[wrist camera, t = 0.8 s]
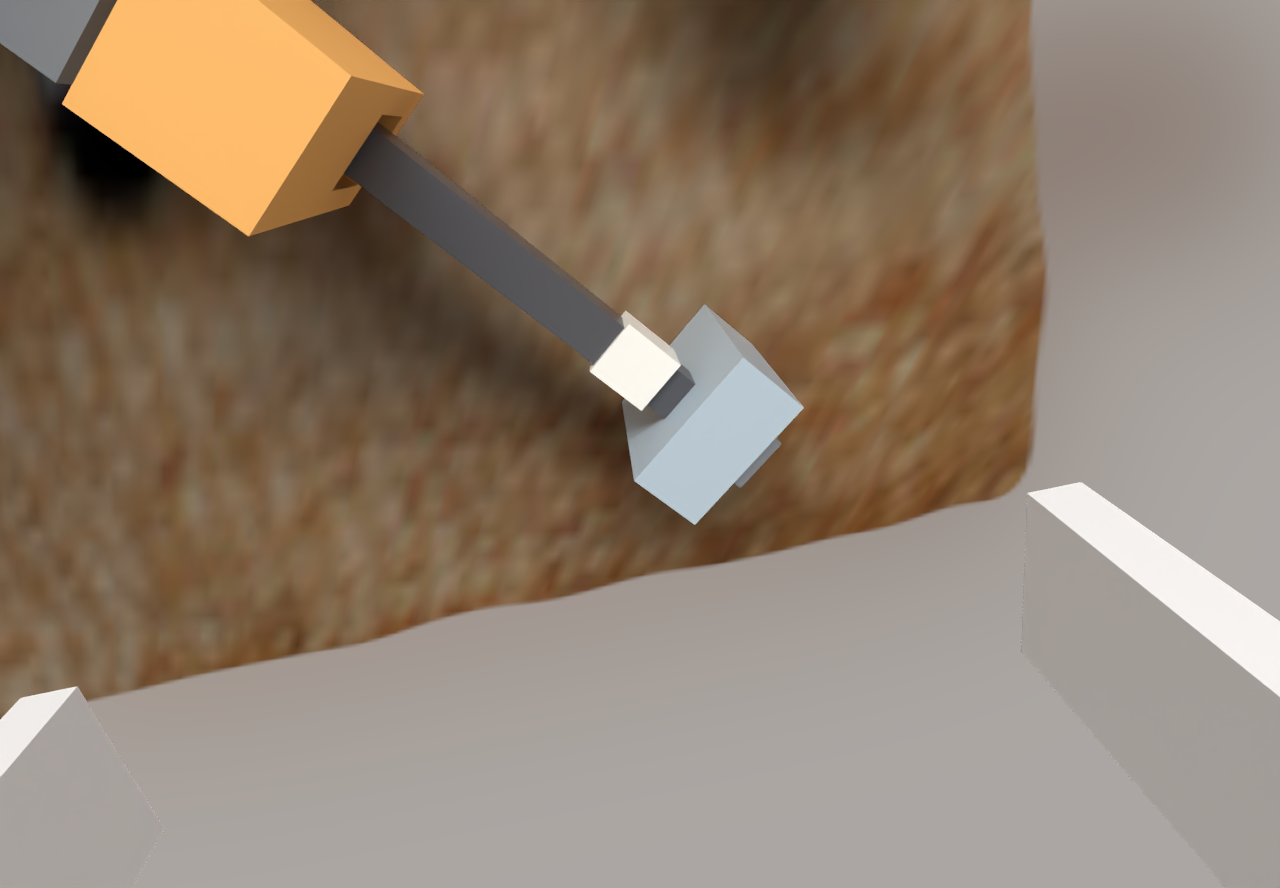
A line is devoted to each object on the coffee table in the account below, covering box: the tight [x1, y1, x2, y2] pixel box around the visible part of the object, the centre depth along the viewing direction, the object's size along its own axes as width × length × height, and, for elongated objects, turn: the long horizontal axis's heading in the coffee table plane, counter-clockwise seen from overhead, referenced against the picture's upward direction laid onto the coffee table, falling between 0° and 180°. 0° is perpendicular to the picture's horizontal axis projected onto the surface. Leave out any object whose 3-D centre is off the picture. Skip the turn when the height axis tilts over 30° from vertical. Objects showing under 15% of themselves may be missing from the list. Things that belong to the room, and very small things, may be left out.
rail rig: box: [0, 0, 804, 525], centre depth 28 cm, size 29×8×9 cm, turn 50°
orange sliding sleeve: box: [62, 0, 424, 236], centre depth 23 cm, size 5×5×10 cm
